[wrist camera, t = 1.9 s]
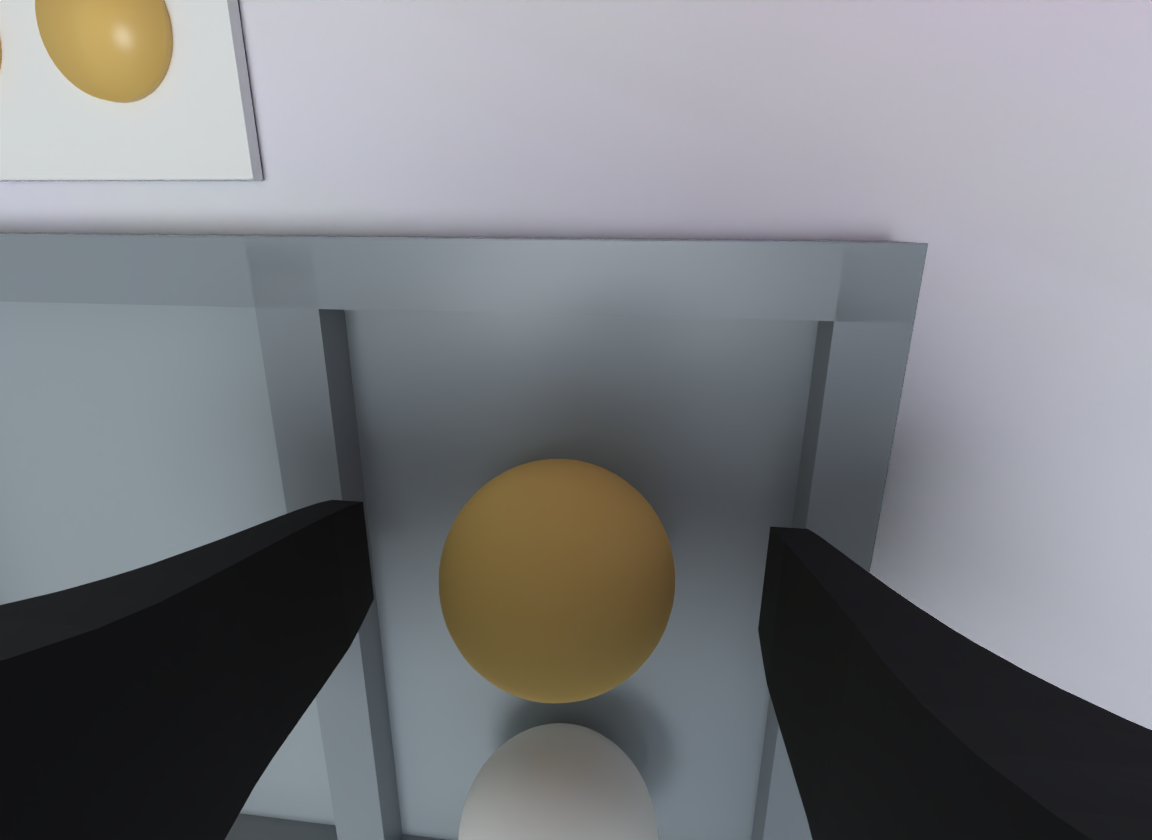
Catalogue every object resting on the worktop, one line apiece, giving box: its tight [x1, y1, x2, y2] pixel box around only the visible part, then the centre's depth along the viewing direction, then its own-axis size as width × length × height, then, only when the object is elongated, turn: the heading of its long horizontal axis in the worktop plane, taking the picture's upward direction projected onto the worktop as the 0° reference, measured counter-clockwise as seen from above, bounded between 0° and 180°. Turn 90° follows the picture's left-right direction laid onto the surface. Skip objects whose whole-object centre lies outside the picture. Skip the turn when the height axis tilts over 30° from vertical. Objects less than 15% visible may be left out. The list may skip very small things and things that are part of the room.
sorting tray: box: [0, 233, 928, 840], centre depth 13 cm, size 16×21×1 cm
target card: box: [0, 0, 263, 181], centre depth 11 cm, size 5×8×1 cm, turn 90°
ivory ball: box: [458, 723, 658, 840], centre depth 12 cm, size 4×4×4 cm
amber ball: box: [439, 459, 675, 703], centre depth 10 cm, size 4×4×4 cm
